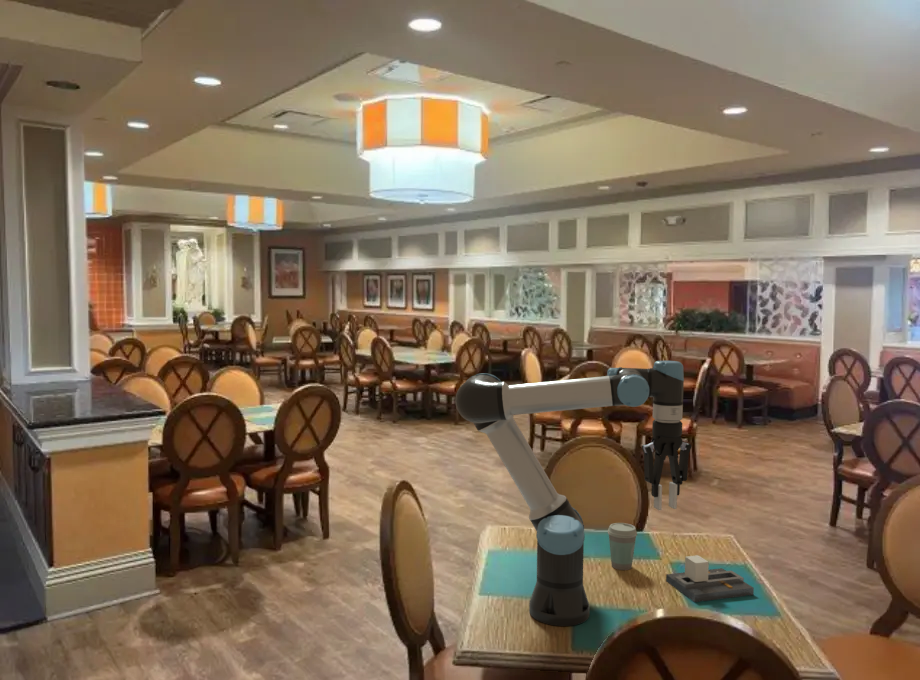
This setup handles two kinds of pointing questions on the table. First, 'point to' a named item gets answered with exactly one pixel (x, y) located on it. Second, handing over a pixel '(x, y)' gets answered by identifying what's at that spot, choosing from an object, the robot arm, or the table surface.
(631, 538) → the coffee cup
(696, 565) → the fader tab
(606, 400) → the robot arm
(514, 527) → the table surface
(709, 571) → the console
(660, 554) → the table surface
